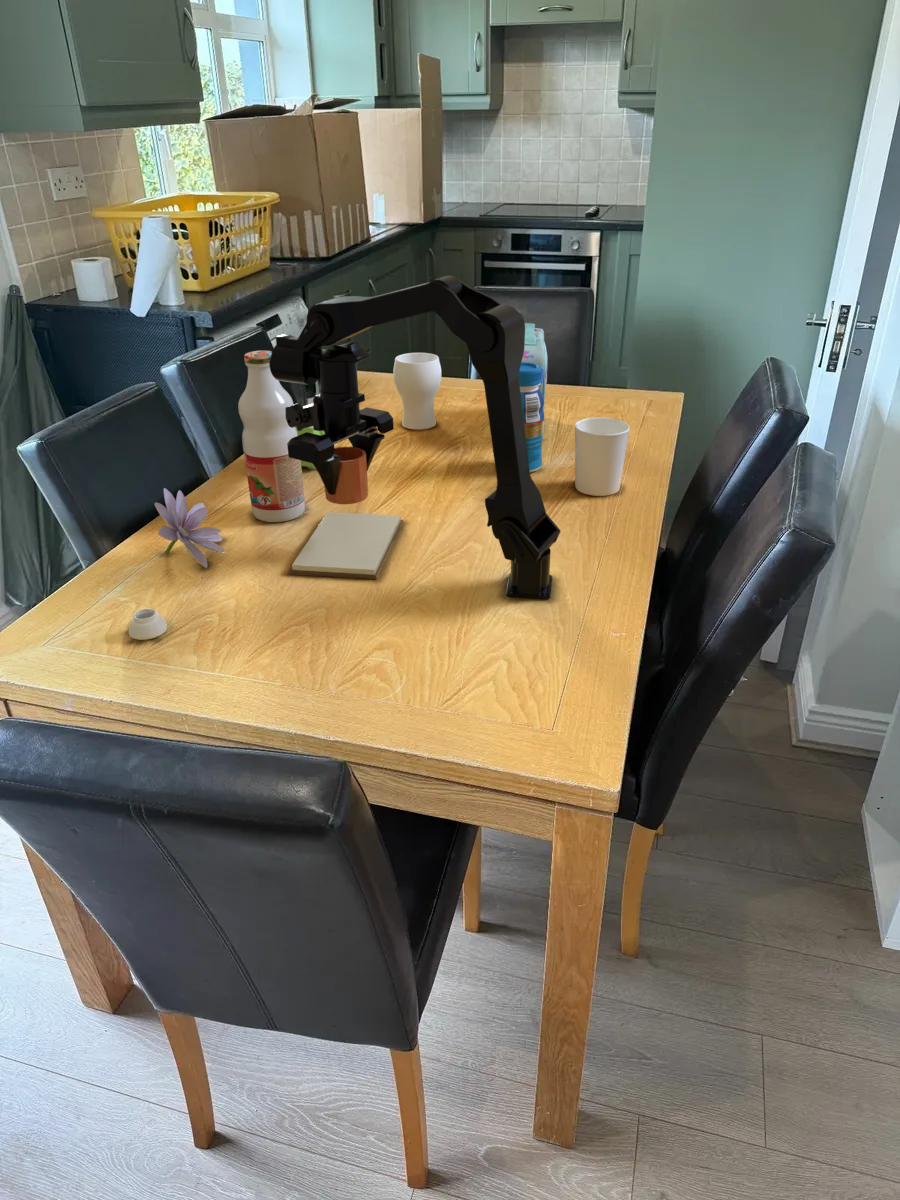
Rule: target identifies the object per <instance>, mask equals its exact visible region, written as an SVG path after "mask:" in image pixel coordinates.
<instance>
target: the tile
mask: <svg viewBox="0 0 900 1200" xmlns="http://www.w3.org/2000/svg"><path fill="white" fill-rule="evenodd" d="M403 524H404V520H403V519H402V516H401V515H396V514H374V513H355V512H354V513H353V512H335V511H334V512H333V511H327V512H326V513H325V515H324V517H323V518H322V519H321V521H320V522H319V524H318V525H317V527H316V529H314V531H313V533H312V534H311V535H310V538H309V539H308V540H307V542H305V545H304V546H303V548H302V549H301V551H300V552H299V554H298V556H297V557H296V558H295V560H294V561H293V562H292V564H291V569H290V571H289V573H290V575H298V576H313V577H314V576H315V577H329V578H331V577H333V578H348V579H363V580H378V577H379V575H380V573H381V571H382V568H383V566H384V564H385V562H386V560H387V558H388V556H389V553H390V552H391V550H392V548H393V545H394V543H395V541H396V539H397V537H398V535H399V533H400V530H401V528H402V525H403Z"/></svg>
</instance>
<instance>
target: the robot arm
mask: <svg viewBox="0 0 900 1200" xmlns="http://www.w3.org/2000/svg"><path fill="white" fill-rule="evenodd" d="M433 312H434V313H435V314H436V315H438V316H439V317H440V318H441V319H442V321H443V322H444V324H445V325H446V327H447V328H448V329H449V330H450V332H451V333H452V334H453V335H455V336H456V337H458V338H459V339H460V340H462V341H463V342H464V343H465V345H466V349H467V351H468V355H469V359H470V362H471V364H472V366H473V368H474V369H475V371H476V372H477V374H478V375H479V377H480V379H481V381H482V383H483V387H484V388H483V389H484V393H485V401H486V409H487V417H488V425H489V432H490V438H491V445H492V446H491V447H492V454H493V460H494V469H495V476H496V488H495V490H493V492H492V493H490V494H489V495H488V496H487V497H486V498H484V506H485V509H486V513H487V524H486V527H488V528H489V527H491V531H492V535H493V537H494V538H495V539H496V540H498V542H499V546H500V548H501V551H502V554H503V557H504V559H505V560H507V561H510V572H509V574H508V579H507V585H506V591H505V595H506V596H507V597H514V598H515V597H516V598H532V599H551V597H552V586H553V575H550V573H551V553H552V551H551V547H552V546H553V544H555V543H556V542H557V540H558V538H559V537H560V534H561V529H560V528H559V527H558V525H557V524H556V523H555V522H554V521H553V519H552V518H551V517H550V516H549V515H548V514H547V511H546V507H545V504H544V500H543V497H542V493H541V491H540V489H539V487H538V486H537V484H536V483H535V482H534V479H532V476H531V473H530V471H529V462H528V453H527V445H526V436H525V428H524V419H523V411H522V402H521V393H520V385H519V370H520V366H521V362H522V358H523V353H524V344H525V323H526V321H525V318H524V316H523V315H522V313H521V312H519V310H517V309H516V308H515V307H513V306H511V305H509V304H502V303H500V302H499V301H497V299H496V298H495V299H494V297H492V296H490V295H488V294H486V293H484V292H481V291H480V290H477V289H475V288H473V287H471V286H469V285H468V284H466V283H464V282H463V281H462V280H461V279H459V278H458V277H455V276H453V275H444V276H441V277H440V278H436V279H433V280H431V281H428V282H425V283H421V284H417V285H414V286H413V285H412V286H409V287H406V288H401V289H398V290H394V291H391V292H387V293H383V294H379V295H374V296H360V295H350V296H349V295H348V296H347V295H345V296H338V297H335V298H331V299H328V300H325V301H322V302H319V303H315V304H313V305H311V306H310V307H309V308H308V311H307V315H306V323H305V325H304V327H303V329H302V330H301V332H300V334H299V335H298V336H294V335H291V334H288V333H283V334H281V335H280V334H279V335H277V336H275V346H274V347H273V349H272V354H271V360H270V362H269V366H270V371H271V373H272V375H273V377H274V378H275V379H276V380H279V382H285V383H292V384H293V383H294V384H299V385H306V386H313V385H314V384H316V383H317V382H318V388H319V393H318V394H316V395H314V396H313V399H312V403H311V404H306V405H304V406H302V405H301V403H300V402H297V403H295V404H293V405H291V406H288V407H285V412H286V420H287V423H288V425H289V426H290V427H291V428H293V427H297V430H298V431H301V430H303V429H304V428H308V427H312V426H313V430H316V431H321V430H322V431H324V433H325V434H324V435H316V434H312V433H308V432H306V433H303V434H301V435H299V436H296V437H294V438H291V439H290V441H289V442H288V443H287V447H288V456H289V457H290V458H294V459H298V460H302V461H305V462H309V463H312V464H313V465H314V466H315V469H316V471H317V473H318V475H319V478H320V480H321V482H322V483H323V486H325V488H326V490H327V492H328V493H329V494H331V495H334V494H335V492H336V488H337V482H338V474H339V467H340V460H341V456H338V455H334V452H335V448H336V447H335V445H336V444H338V443H341V442H343V441H345V440H348V441H349V443H350V444H351V447H356V448H360V449H362V450H364V451H365V453H366V463H367V472H368V471H369V469H370V466H371V463H372V462H373V459H374V457H375V455H376V452H377V450H379V449H378V448H379V447H380V445H381V443H382V440H384V439H385V437H386V436H385V434H387V433H389V432H392V431H393V430H394V429H395V428H394V427H395V426H394V417H393V416H392V415H391V414H390V412H389V411H386V410H381V409H378V408H372V407H368V406H366V407H363V408H361V409H360V403H363V402H365V401H366V395H365V393H363V392H359V379H358V365H357V364H358V363H359V362H361V361H364V360H366V359H368V358H370V353H369V352H368V351H367V350H366V349H365V348H364V347H362V346H361V345H360V343H359V342H358V341H354V342H350V343H349V344H348V345H338V344H337V343H339V342H341V341H344V340H347V339H350V338H352V337H355V336H357V335H359V334H361V333H362V332H365V331H367V330H369V329H370V328H372V327H375V326H380V325H383V324H389V323H392V322H396V321H400V320H404V319H408V318H412V317H413V318H414V317H417V316H421V315H425V314H429V313H433ZM329 346H330V347H329ZM322 347H328V348H327V349H326V348H322ZM325 488H324V489H325Z"/></svg>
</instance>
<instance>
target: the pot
mask: <svg viewBox="0 0 900 1200" xmlns="http://www.w3.org/2000/svg"><path fill="white" fill-rule="evenodd" d="M334 455H338V456H341V460H340V467H339V474H338V482H337V488H336V492H335V494H334V495H331V494H329V493H328V492H327V490H326V488H325V486H324V485H323V486H324V494H325V500H327V502H330V503H332V504H335V505H354V504H359V503H361V502H363V501H365V500H367V498H369V480H368V471H367V463H366V453H365V451H364V450H362V449H360V448H356V447H352V446H336V447H335V452H334Z"/></svg>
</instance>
